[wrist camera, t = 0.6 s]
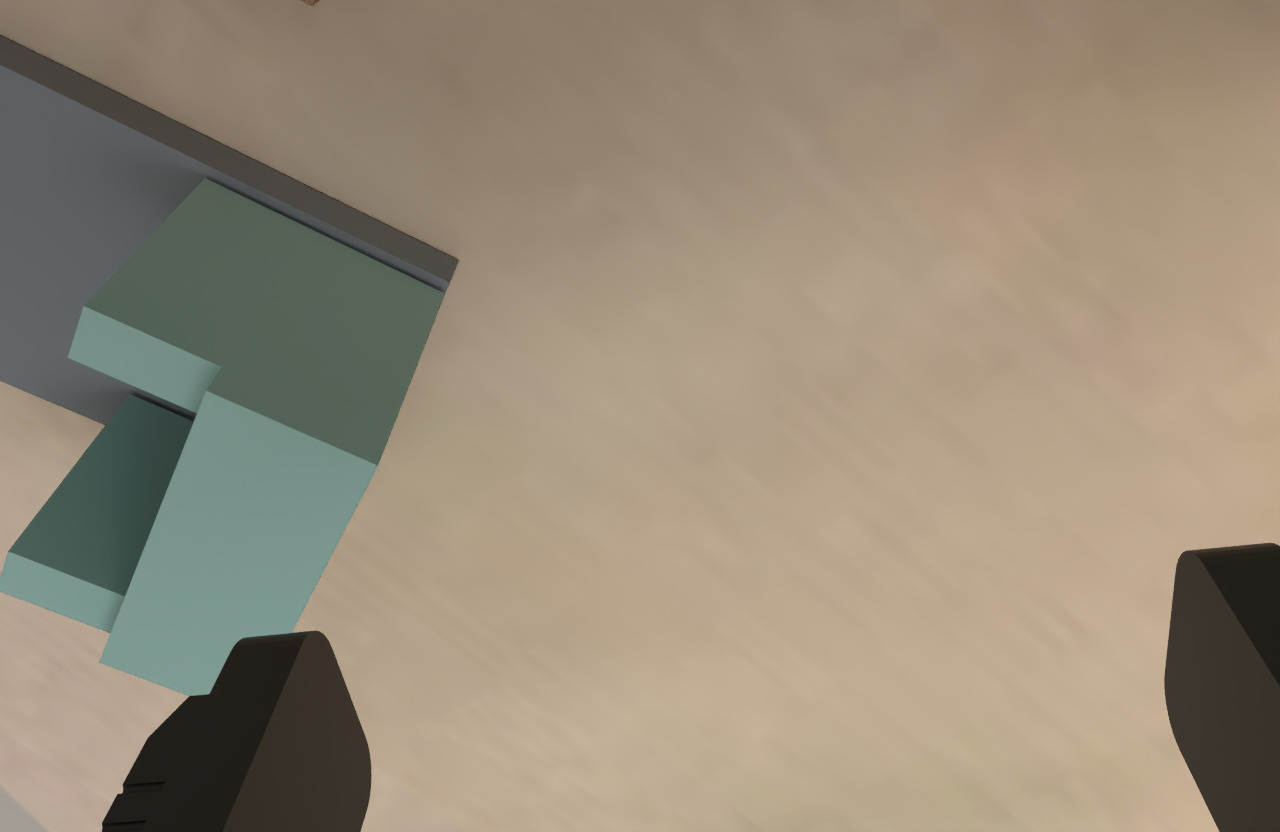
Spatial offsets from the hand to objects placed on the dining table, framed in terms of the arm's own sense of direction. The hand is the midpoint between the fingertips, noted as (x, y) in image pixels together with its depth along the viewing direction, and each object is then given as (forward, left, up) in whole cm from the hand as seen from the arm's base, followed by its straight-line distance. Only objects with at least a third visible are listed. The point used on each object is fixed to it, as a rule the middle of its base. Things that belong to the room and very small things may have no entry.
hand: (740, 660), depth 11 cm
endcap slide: (+10, -6, -16) cm, 20 cm away
